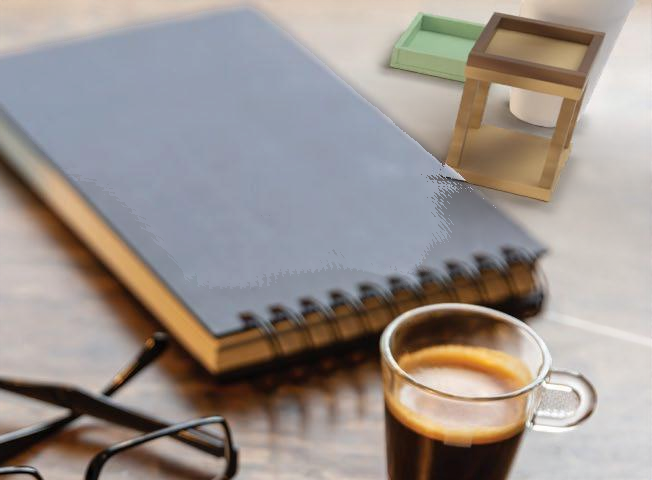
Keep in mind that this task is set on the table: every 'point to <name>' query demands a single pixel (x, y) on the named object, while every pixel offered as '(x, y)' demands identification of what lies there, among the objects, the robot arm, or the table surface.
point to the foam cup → (577, 11)
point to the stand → (531, 74)
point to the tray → (436, 46)
